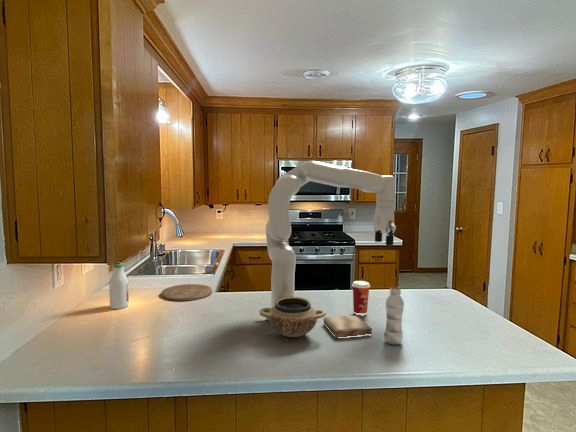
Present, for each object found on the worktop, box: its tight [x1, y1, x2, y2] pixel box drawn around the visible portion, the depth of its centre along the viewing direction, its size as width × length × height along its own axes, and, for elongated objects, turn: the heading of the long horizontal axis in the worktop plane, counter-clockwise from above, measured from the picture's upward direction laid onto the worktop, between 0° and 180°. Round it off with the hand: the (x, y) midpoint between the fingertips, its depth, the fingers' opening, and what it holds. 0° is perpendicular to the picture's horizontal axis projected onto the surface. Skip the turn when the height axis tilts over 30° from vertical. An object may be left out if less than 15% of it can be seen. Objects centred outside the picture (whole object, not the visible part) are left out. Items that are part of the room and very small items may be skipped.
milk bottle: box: [108, 262, 130, 310], centre depth 164 cm, size 8×8×20 cm
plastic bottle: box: [383, 286, 405, 346], centre depth 129 cm, size 6×7×20 cm
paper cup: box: [351, 280, 371, 313], centre depth 159 cm, size 8×8×14 cm
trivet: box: [160, 283, 213, 302], centre depth 186 cm, size 25×25×2 cm
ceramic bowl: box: [259, 296, 327, 341], centre depth 135 cm, size 24×18×15 cm
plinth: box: [323, 314, 373, 338], centre depth 141 cm, size 14×14×3 cm
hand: (383, 243), depth 159 cm, fingers open, 9 cm apart
